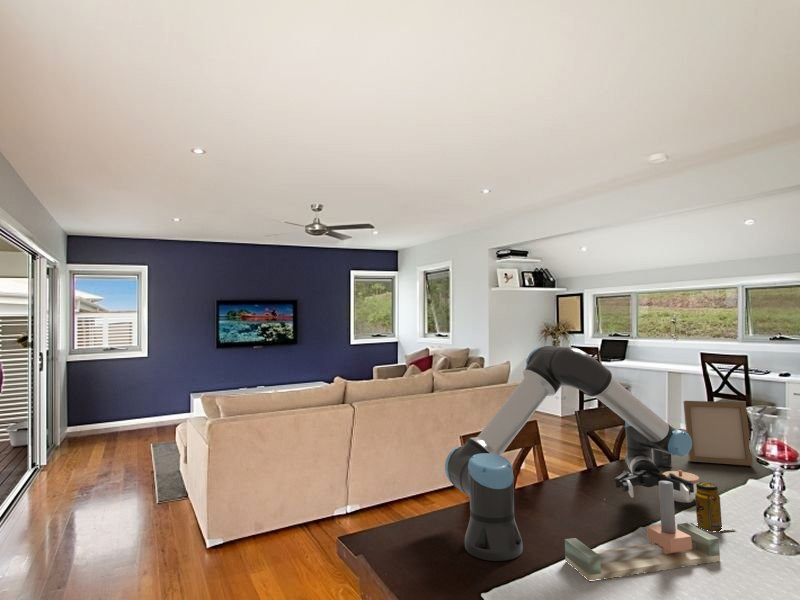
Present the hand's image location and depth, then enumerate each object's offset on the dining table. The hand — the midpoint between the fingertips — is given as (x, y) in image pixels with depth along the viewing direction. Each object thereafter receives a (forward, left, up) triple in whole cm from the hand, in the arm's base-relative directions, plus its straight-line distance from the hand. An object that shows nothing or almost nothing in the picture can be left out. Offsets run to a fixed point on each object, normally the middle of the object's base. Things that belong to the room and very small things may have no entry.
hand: (659, 494), depth 132 cm
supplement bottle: (+51, +59, -13) cm, 79 cm away
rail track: (-13, -8, -12) cm, 20 cm away
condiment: (+20, +4, -13) cm, 24 cm away
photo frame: (+77, +58, -13) cm, 97 cm away
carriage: (-5, -8, -10) cm, 14 cm away
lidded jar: (+29, +25, -13) cm, 40 cm away
